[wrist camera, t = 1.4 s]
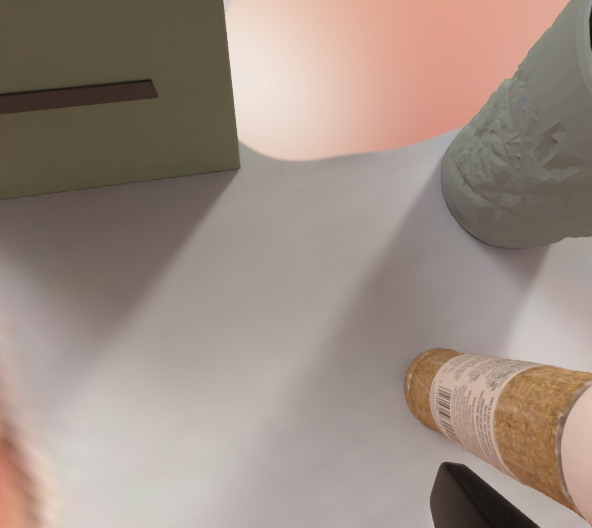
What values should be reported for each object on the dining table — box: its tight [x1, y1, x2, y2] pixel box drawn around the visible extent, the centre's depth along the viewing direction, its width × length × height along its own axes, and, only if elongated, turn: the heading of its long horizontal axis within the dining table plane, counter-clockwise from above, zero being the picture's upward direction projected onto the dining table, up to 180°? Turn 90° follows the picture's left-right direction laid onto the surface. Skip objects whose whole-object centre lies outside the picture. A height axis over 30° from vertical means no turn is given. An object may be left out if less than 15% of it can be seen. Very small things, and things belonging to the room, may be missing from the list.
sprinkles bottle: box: [405, 348, 592, 526], centre depth 15 cm, size 5×5×13 cm
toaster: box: [0, 0, 241, 200], centre depth 16 cm, size 10×16×14 cm, turn 100°
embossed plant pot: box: [441, 0, 592, 249], centre depth 18 cm, size 10×10×12 cm
